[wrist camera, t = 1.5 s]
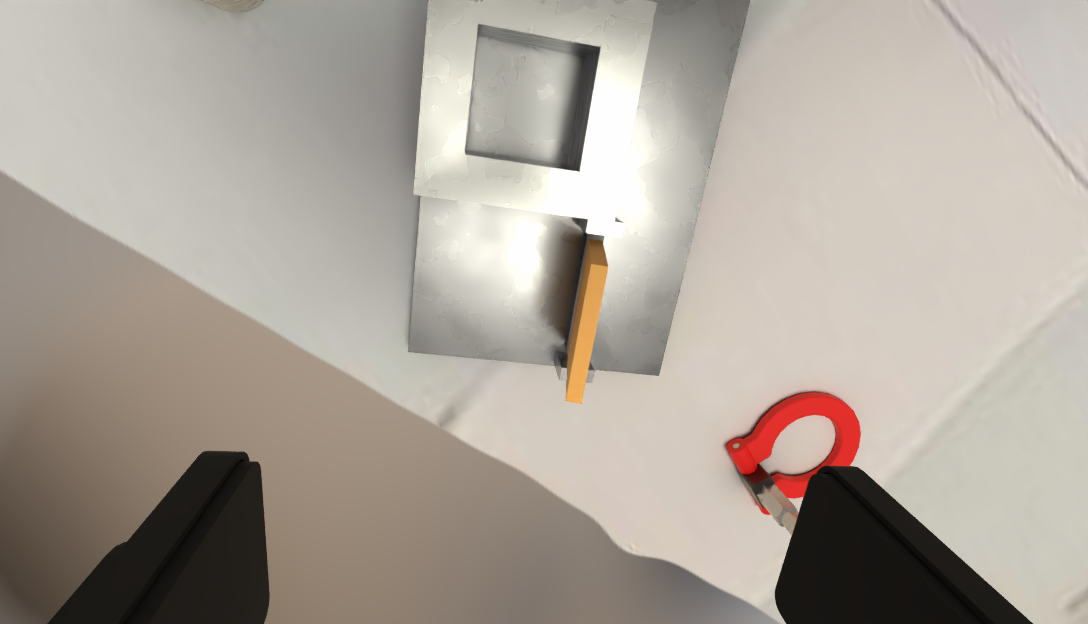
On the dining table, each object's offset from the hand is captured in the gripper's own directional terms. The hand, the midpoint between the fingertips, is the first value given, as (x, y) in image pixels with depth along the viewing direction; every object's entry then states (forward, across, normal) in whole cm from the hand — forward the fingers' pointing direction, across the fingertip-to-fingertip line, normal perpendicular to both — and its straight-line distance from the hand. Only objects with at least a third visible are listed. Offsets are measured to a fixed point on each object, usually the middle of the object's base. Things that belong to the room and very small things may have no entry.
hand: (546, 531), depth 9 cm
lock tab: (+23, -5, +3) cm, 24 cm away
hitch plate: (+24, -4, -4) cm, 25 cm away
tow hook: (+25, -23, +13) cm, 36 cm away
